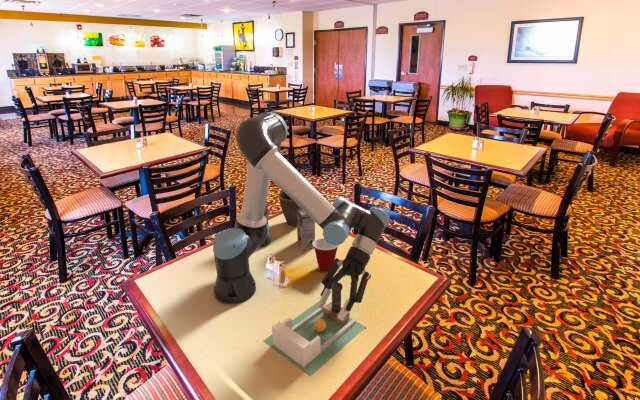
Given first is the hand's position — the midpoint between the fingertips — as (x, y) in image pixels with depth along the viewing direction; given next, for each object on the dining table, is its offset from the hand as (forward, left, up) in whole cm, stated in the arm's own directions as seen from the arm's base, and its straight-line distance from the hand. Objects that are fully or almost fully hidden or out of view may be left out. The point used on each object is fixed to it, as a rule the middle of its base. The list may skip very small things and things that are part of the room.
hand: (329, 313), depth 119 cm
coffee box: (-43, +33, -5) cm, 55 cm away
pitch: (0, -7, -5) cm, 8 cm away
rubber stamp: (0, +3, -5) cm, 6 cm away
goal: (0, -15, -4) cm, 15 cm away
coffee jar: (-60, +20, -5) cm, 64 cm away
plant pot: (-63, +45, -5) cm, 78 cm away
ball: (0, -5, -2) cm, 5 cm away
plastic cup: (-23, +24, -5) cm, 34 cm away
